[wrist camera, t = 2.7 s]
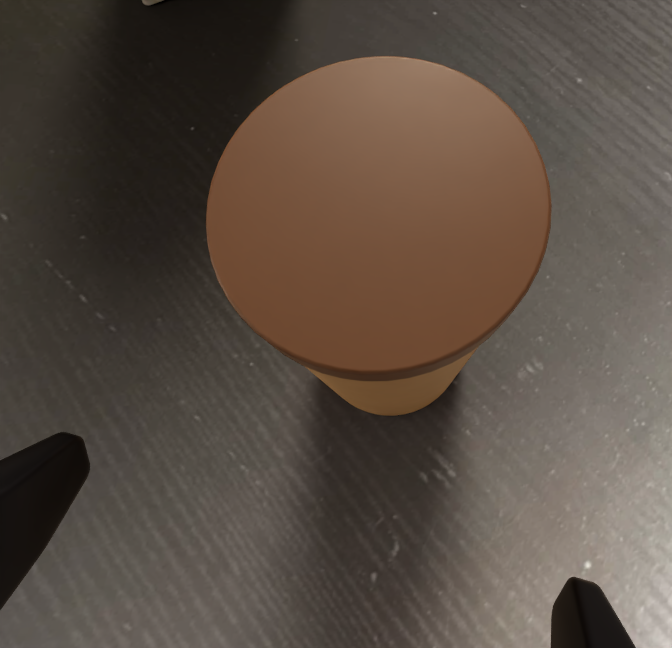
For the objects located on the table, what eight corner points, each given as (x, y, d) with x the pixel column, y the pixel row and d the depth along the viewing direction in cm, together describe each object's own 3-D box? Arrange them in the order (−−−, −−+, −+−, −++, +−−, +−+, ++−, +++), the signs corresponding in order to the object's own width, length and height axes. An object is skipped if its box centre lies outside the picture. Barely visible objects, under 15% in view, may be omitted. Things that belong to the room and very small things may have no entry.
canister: (495, 348, 21) (633, 205, 9) (383, 450, 21) (355, 454, 8) (393, 246, 23) (384, -2, 10) (287, 338, 22) (141, 200, 10)
